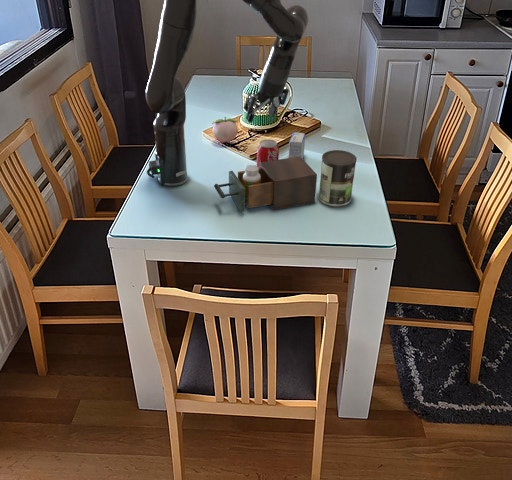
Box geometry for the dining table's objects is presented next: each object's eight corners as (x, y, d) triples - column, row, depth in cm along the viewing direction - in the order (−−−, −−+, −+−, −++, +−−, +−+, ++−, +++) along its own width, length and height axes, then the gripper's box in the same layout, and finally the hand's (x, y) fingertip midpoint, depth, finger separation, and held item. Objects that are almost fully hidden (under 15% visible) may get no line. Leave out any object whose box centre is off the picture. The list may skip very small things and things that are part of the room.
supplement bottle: (244, 201, 173) (244, 172, 167) (241, 192, 177) (241, 164, 171) (261, 200, 174) (262, 171, 168) (258, 191, 178) (259, 163, 172)
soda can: (262, 183, 186) (263, 149, 179) (252, 174, 191) (253, 141, 184) (281, 179, 189) (283, 145, 182) (271, 170, 194) (272, 137, 187)
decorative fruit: (218, 149, 206) (217, 123, 200) (210, 140, 212) (209, 114, 205) (242, 145, 209) (242, 119, 203) (233, 136, 215) (233, 111, 209)
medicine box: (300, 166, 197) (302, 142, 191) (288, 164, 197) (289, 141, 192) (304, 156, 203) (305, 133, 197) (291, 154, 203) (292, 131, 198)
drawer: (223, 215, 169) (223, 191, 164) (212, 196, 177) (211, 173, 173) (280, 205, 174) (281, 182, 169) (266, 187, 182) (267, 165, 178)
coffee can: (356, 195, 181) (362, 155, 172) (342, 210, 174) (347, 168, 165) (327, 187, 185) (331, 146, 177) (312, 200, 178) (316, 159, 170)
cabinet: (273, 210, 173) (274, 181, 167) (258, 190, 183) (259, 162, 177) (314, 202, 177) (317, 174, 171) (298, 183, 187) (300, 156, 181)
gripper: (263, 88, 159) (248, 131, 172) (301, 79, 166) (284, 121, 179) (248, 70, 162) (234, 114, 175) (286, 62, 169) (271, 105, 182)
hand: (260, 117), depth 177 cm, fingers open, 8 cm apart
